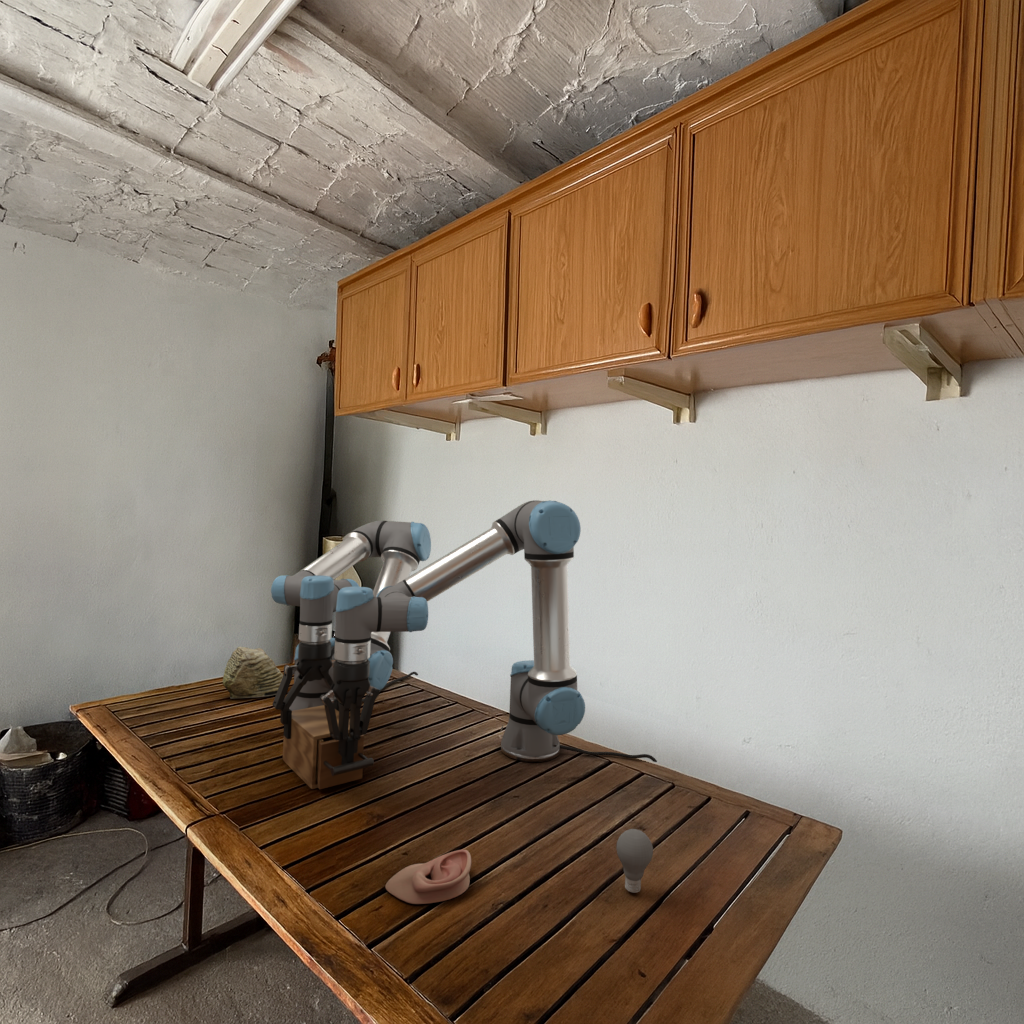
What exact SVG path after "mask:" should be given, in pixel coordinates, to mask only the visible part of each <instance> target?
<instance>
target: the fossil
mask: <svg viewBox="0 0 1024 1024" xmlns="http://www.w3.org/2000/svg"><path fill="white" fill-rule="evenodd" d="M283 675H284V674H283V672H281V669H279V668H278V667H277V665H276V663H275V662H274V660H273V659H272V658H271V657H270V656H269V655H268V654H267V653H266V652H265V650H264V649H263V648H260V647H258V648H251V647H247V646H246V647H245V646H238V647H237V648H236V649H235V650H233V651H232V653H231V656H230V657H229V659H228V660H227V663H226V666H225V668H224V671H223V675H222V676H223V677H222V685H223V687H224V688H225V690H226V691H228V693H229V698H230V699H250V698H264V697H271V696H276V694H277V691H278V688H279V686H280V683H281V680H282V678H283Z"/></svg>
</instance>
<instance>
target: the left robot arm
mask: <svg viewBox="0 0 1024 1024" xmlns="http://www.w3.org/2000/svg"><path fill="white" fill-rule="evenodd" d="M431 538H432V537H431V533H430V531H429V528H428V526H427V525H425V524H424V523H422V522H415V521H409V522H408V521H394V520H376V521H371V522H368V523H365V524H363V525H361V526H358V527H357V528H355V529H353V530H351V531H350V532H348V533H347V534H345V536H344V537H343V539H342V541H341V542H340V543H338V544H336V545H335V546H334V547H333V548H331V549H330V550H328V551H327V552H325V553H323V554H322V555H321V556H319V557H318V558H316V559H314V561H312V562H311V563H309V564H307V566H305V567H303V568H302V569H300V570H299V571H298V572H296V573H294V574H293V575H289V574H285V575H279V576H277V577H276V578H275V579H274V580H273V582H272V583H271V588H270V593H271V599H272V600H273V601H274V602H275V603H276V604H278V605H279V604H280V605H284V606H285V605H286V606H292V607H293V606H294V607H299V624H298V625H299V626H298V640H299V643H298V644H297V645H296V647H295V652H294V653H295V654H294V659H293V660H294V665H288V664H285V665H284V666H283V674H282V675H283V678H282V680H281V683H280V686H279V688H278V691H277V694H276V695H274V696H275V697H274V699H273V702H272V707H273V708H274V709H275V710H277V711H278V710H280V716H279V721H280V723H281V725H282V726H283V737H284V736H285V737H286V738H287V739H291V722H292V711H294V710H300V709H305V708H311V707H317V706H322V705H324V704H323V703H322V701H321V700H320V696H321V695H326V694H327V693H328V692H329V691H331V686H332V684H333V669H334V662H335V660H336V659H335V658H334V647H335V637H333V613H336V605H337V595H338V592H339V590H340V589H342V588H344V587H360V585H359V584H358V582H357V581H356V580H354V579H352V578H341V579H338V578H340V576H342V575H343V574H344V573H345V572H346V571H348V570H349V569H350V568H352V567H353V566H354V565H356V564H357V563H361V562H364V561H366V560H367V559H371V558H380V559H381V561H382V562H383V564H382V567H381V569H380V572H379V573H378V577H377V579H376V582H375V584H374V585H375V586H374V588H373V589H372V590H373V595H374V597H377V594H378V593H379V591H380V590H382V589H383V588H385V587H388V586H394V585H396V584H397V583H399V582H401V581H403V580H405V579H406V578H408V577H409V576H411V573H412V572H414V571H416V570H417V569H418V567H419V565H420V562H426V561H427V560H428V559H429V558H430V555H431V551H432V540H431ZM390 635H391V632H371V646H370V658H369V659H368V660H369V661H370V671H369V682H370V686H372V687H375V688H377V689H379V690H380V692H381V691H382V690H384V689H385V688H387V687H389V686H391V685H392V684H394V683H397V682H400V681H402V680H405V679H409V678H410V677H411V676H413V675H415V676H419V673H418V672H416V671H412V672H411V671H410V673H408V674H406V675H404V676H401V677H398V678H396V679H393V680H390V678H391V675H392V672H393V668H394V667H393V664H394V658H393V655H392V653H391V652H390V651H391V647H390V645H389V644H388V641H389V638H390ZM292 680H293V684H292V686H291V683H292ZM389 680H390V681H389ZM290 686H291V687H290ZM289 688H290V689H289ZM364 700H365V697H363V698H362V703H364ZM338 703H339V701H338V700H337V699H336V697H335V696H334V702H333V705H334V708H335V709H336V710H337V711H339V705H338Z"/></svg>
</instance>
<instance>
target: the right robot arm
mask: <svg viewBox="0 0 1024 1024" xmlns="http://www.w3.org/2000/svg"><path fill="white" fill-rule="evenodd" d="M491 524H492V525H491V527H490V528H489V529H487V530H485V531H484V532H482V533H480V534H478V535H477V536H475V537H474V538H472V539H470V540H469V541H467V542H465V543H463V544H462V545H460V546H458V547H456V548H454V549H453V550H452V551H450V552H448V553H447V554H445V555H443V556H441V557H440V558H438V559H436V560H435V561H433V562H431V563H430V564H428V565H426V566H424V567H423V568H421V569H420V570H418V571H416V572H414V573H413V574H410V576H409V577H408V578H406V579H405V580H403V581H401V582H399V583H397V584H396V585H394V586H388V587H385V588H383V589H382V590H380V591H379V593H378V594H377V597H374V595H373V590H374V589H373V588H371V587H368V586H359V587H344V588H342V589H340V590H339V592H338V595H337V605H336V612H335V622H334V623H335V625H334V626H335V627H334V629H335V630H334V638H335V647H334V658H335V659H336V660H335V662H334V669H333V684H332V686H331V691H329V692H328V693H327V694H326V695H321V696H320V700H321V701H322V703H323V704H324V707H325V712H326V717H327V722H328V727H329V732H330V736H331V737H332V738H334V739H335V740H339V746H338V747H339V748H338V753H339V754H340V755H341V756H342V762H341V765H343V764H347V763H351V762H354V753H357V751H358V740H360V738H361V737H360V736H361V735H364V736H365V735H367V733H368V731H369V726H370V723H371V719H372V714H373V710H374V706H375V702H376V700H377V698H378V697H379V695H380V693H381V691H380V690H379V689H377V688H375V687H372V686H370V682H369V671H370V661H369V660H368V659H369V658H370V646H371V632H390V633H397V632H398V633H403V632H404V633H405V632H407V633H413V632H420V631H421V632H422V631H425V630H426V628H427V626H428V623H429V604H428V602H429V601H431V600H433V599H434V598H436V597H439V596H440V595H441V594H443V593H444V592H446V591H448V590H449V589H451V588H453V587H455V586H457V585H458V584H459V583H461V582H463V581H464V580H466V579H467V578H469V577H471V576H473V575H474V574H476V573H478V572H479V571H480V570H483V569H484V568H486V567H487V566H489V565H491V564H492V563H494V562H496V561H498V560H499V559H501V558H503V557H504V556H506V555H510V556H513V555H515V554H517V553H519V552H521V551H523V553H524V554H523V555H524V560H525V561H526V562H527V564H529V566H530V574H531V575H530V576H531V577H530V578H531V606H532V607H531V608H532V609H531V610H532V611H531V612H532V641H533V643H532V644H533V646H532V647H533V659H532V660H531V659H530V660H520V661H519V660H518V661H516V662H514V663H513V664H512V666H511V670H510V671H511V672H510V675H509V676H510V684H509V685H510V689H509V712H508V713H509V715H508V721H507V724H506V727H505V729H504V724H502V725H501V728H500V732H502V731H503V729H504V732H503V734H502V738H501V741H500V751H501V753H502V754H503V755H505V756H506V757H508V758H510V759H513V760H516V761H520V762H526V763H527V762H528V763H541V762H547V761H551V760H554V759H556V758H557V757H558V756H559V755H560V753H561V750H566V751H570V752H575V753H579V754H583V755H588V756H611V757H612V756H613V757H619V758H624V759H634V760H635V759H645V758H646V759H649V760H651V761H652V762H653V763H657V762H658V760H657V759H656V758H655V757H654V756H652V755H651V754H648V753H642V754H627V753H623V752H621V753H620V752H616V751H615V752H614V751H589V750H585V749H581V748H577V747H572V746H567V745H563V744H561V742H560V739H559V736H564V735H567V734H570V733H571V732H574V730H575V729H576V728H577V727H578V726H579V725H580V724H581V723H582V721H583V719H584V717H585V714H586V702H585V699H584V697H583V695H582V693H581V692H580V691H579V690H578V672H577V670H576V669H575V668H574V667H573V666H572V665H571V646H570V644H571V643H570V642H571V641H570V640H571V639H570V605H569V571H568V569H569V564H570V563H571V562H572V561H573V560H574V558H575V548H574V547H575V546H576V544H577V543H579V540H580V537H581V531H582V530H581V528H582V527H581V522H580V519H579V516H578V515H577V513H576V512H575V510H573V509H572V508H571V506H569V505H567V504H566V503H563V502H560V501H558V500H539V499H538V500H537V499H536V500H535V499H534V500H528V501H526V502H523V503H522V504H520V505H518V506H517V507H515V508H513V509H511V511H508V512H507V513H506V514H503V516H501V517H500V518H497V519H496V520H494V521H493V522H492V523H491ZM334 696H335V697H336V699H337V700H338V701H339V703H338V705H339V724H338V723H337V718H336V713H335V708H334V705H333V702H334ZM364 698H365V700H364V702H362V699H364ZM349 719H350V729H349V735H350V737H349V736H348V727H349Z"/></svg>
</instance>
